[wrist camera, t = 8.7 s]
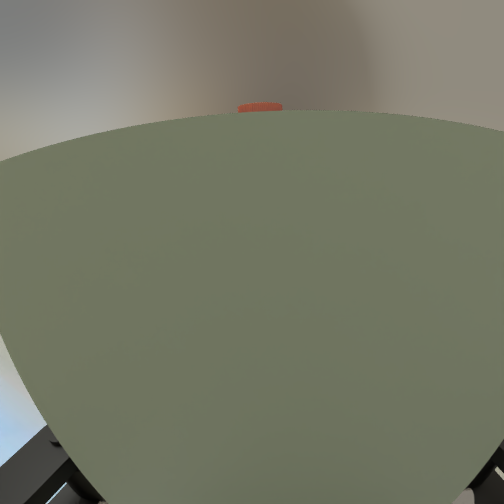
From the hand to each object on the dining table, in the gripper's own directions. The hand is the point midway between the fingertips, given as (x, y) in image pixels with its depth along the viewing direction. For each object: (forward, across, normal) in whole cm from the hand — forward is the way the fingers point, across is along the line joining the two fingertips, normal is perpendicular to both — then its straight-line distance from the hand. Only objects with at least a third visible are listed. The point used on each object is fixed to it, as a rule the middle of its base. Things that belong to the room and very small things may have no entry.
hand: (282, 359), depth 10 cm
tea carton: (-3, 0, -8) cm, 9 cm away
